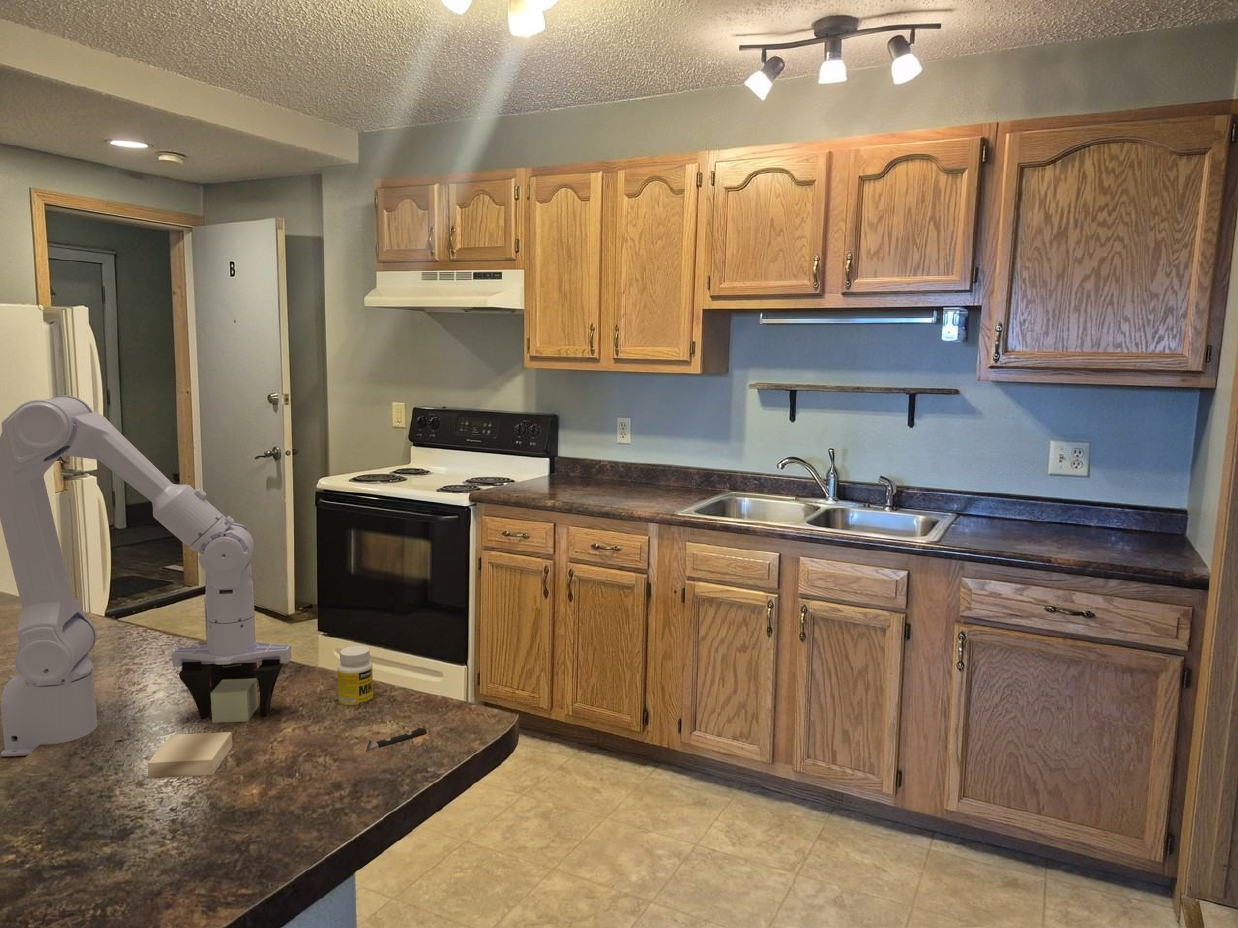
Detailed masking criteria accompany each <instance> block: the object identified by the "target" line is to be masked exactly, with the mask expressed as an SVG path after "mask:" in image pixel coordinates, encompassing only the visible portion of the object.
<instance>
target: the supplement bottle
mask: <svg viewBox="0 0 1238 928" xmlns="http://www.w3.org/2000/svg"><path fill="white" fill-rule="evenodd" d="M370 657H371V653H370V648H369V647H367V646H364V645H351V646H348V647H344V648H342V649H341V650H339V662H340V663H339V664H338V666H337V669H336V670H337V697H338V698H337V700H338V702H339V704H342V705H346V706H357V705H362V704H365V703H368V702H369V701H371V700H372V699H373V697H374V687H373V685H374V684H373V683H374V682H373V679H374V678H373V674H374V673H373V662H372V661H371V660H370Z"/></svg>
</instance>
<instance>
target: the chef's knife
mask: <svg viewBox="0 0 1238 928" xmlns="http://www.w3.org/2000/svg"><path fill="white" fill-rule="evenodd" d="M427 732H428V730H427V729H426V727H425V728H424V727H423V728H422V727H418V728H416V729H414V730H412V731H409V732H407V733H406V732H405V733H404V734H400V735H397V736H393V737H387V738H384V739H381V740H376V741H373V740H370V739H369V740H368V743H367V747H366V750H365V752H370V751H373V750H376V749H381V748H382V747H386V746H391V745H393V744H396V743H400V742H404V741H406V740H410V739H413V738H417V737H421V736H424V735H425V734H427Z"/></svg>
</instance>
